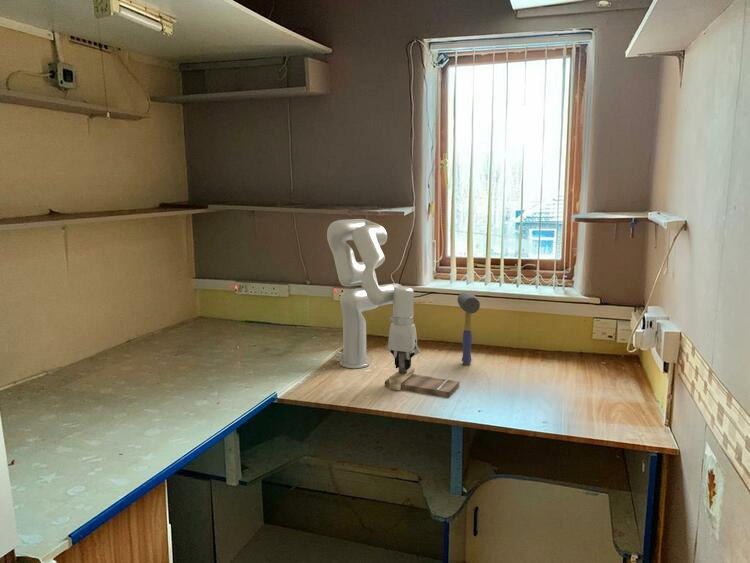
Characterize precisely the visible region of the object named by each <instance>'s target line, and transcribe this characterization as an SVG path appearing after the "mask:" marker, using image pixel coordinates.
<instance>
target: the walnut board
mask: <svg viewBox="0 0 750 563" xmlns="http://www.w3.org/2000/svg"><path fill="white" fill-rule="evenodd" d="M397 372H398V371H396V372H395V373H397ZM393 375H394V374H392V375H391V376H393ZM384 387H386V388H389V378H387V379H386V380H385V381H384ZM459 387H460V381H459V380H453V379H448V378H441V377H433V376H429V375H422V374H421V375H420V374H415V373H413V374H412V375H411V376H410V377H409V378H407V379H406V380H405V381H404V382H403V383H401V389H400V390H403V391H409V392H414V393H420V394H427V395H431V396H432V395H433V396H438V397H444V398H450V397H451V396H452V395H453V394H454V393H455V391H456V390H458V389H459Z"/></svg>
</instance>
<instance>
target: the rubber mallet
mask: <svg viewBox="0 0 750 563" xmlns="http://www.w3.org/2000/svg"><path fill="white" fill-rule="evenodd" d="M457 304H458V305H459V307H460V309H462V310H463V311H464V330H463V333H462V357H461V361H462V364H463V365H471V363H472V343H473V336H472V333H473V332H472V314H475V313H477V312H478V311H479V309H480V307H481V305H480V304H481V303H480V301H479V299H478V298H477V297H476V295H475V294H473V293H471V292H469V291H462V292H461V293H460V294H459V295H458V296H457Z"/></svg>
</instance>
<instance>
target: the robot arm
mask: <svg viewBox="0 0 750 563" xmlns="http://www.w3.org/2000/svg"><path fill="white" fill-rule="evenodd" d="M326 239H327V243H328V246H329V249H330V251H331V253H332V256H333V259H334V263H335V269H336V273H337V277H338V280H339V283H340V284H341V286H343V287H355V286H361V287H358V288H352V289H348V290H345V291H344V292H343V293H342V294H341V295H340V300H339V302H340V307H341V313H342V330H343V331H342V332H343V333H342V335H343V336H342V339H343V340H342V342H343V343H342V345H343V346H342V348H343V349H342V352H341V351H338V350H337V351H335V357H336V358H340V360H339V365H340V366H341V367H343V368H347V369H362V368H366V367H369V365H370V364H371V361H370V359H369V358H367V321H366V319H365V316H364V315H363V313H362V312H366V311H370V310H374V309H377V308H378V307H381V306H386V305H392V304H393V305H392V308H393V310H392V315H390V316H389V320H391V321H392V323H390V326H389V331H388V342H387V345H386V347H385V349H386V350H387V351H388V352H390V354H391V355H392V357H393V358H394V365H395V369H399V351H401V352H406V357H407V358H406V360H405V369H406V370H408V369H409V368H410V367H412V358H413V357H414V356H416V355H419V354H420V353H421V350H420V348H419V346H418V336H417V329H416V324H415V323H414V314H415V313H414V312H415V311H414V310H415V309H414V307H415V306H414V304H415V301H414V300H415V298H414V295H415V292H414V289H413V287H410V286H403V285H402V284H399V283H395V282H393V283H386V284H379V283H378V279H377V274H376V270H375V269H378V267H380V266H381V265H383V263H384V262H385V260H386V256H385V254H384V252H383V249H382V248H381V246H383V245H385V244H386V243H387V240H388V233H387V231H386V229H385V228H384V226H382V225H380V224H379V223H376V222H375V221H374V222H373V221H371V220H368V219H365V218H353V219H352V218H351V219H350V218H349V219H348V218H347V219H338V220H334V221H333V222H331V223H330V224H329V226H328V228H327V232H326ZM347 241H353V243H354V245H355V247H356V249H357V252H358V254H359V256H360V259H361V261H357V259H356V257H355V252H354V250H353V248H352V247H351V246H350V245H349V243H347Z"/></svg>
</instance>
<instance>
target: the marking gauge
mask: <svg viewBox="0 0 750 563" xmlns="http://www.w3.org/2000/svg"><path fill="white" fill-rule="evenodd" d="M406 358H407V357H406V352H401V351H399V367H398V368H397V369H398V371H396V372H397V373H396V372H395V373H394V374H392V375H393V376H392V375H390V376H389V377H388V379H389V387H388V389H389V390H394V391H400V390H402V389H401V383H403V382H404V381H405V380H406V379H407V378H409V377H410V376H411V375H412V374H415V370H416V369H415V367H412V366H411V367H410V368H409V369H408V370H406V369H405V360H406Z"/></svg>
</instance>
